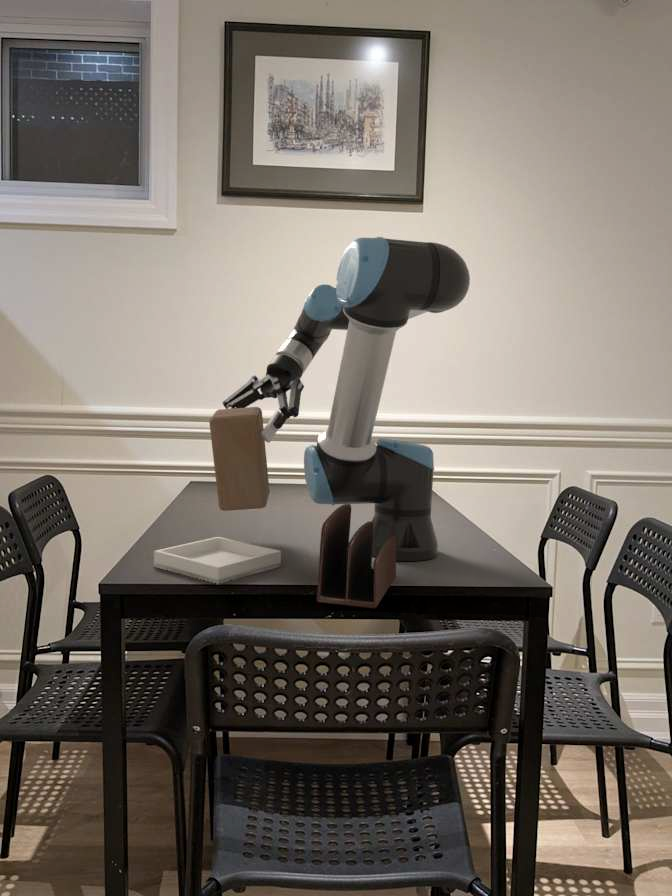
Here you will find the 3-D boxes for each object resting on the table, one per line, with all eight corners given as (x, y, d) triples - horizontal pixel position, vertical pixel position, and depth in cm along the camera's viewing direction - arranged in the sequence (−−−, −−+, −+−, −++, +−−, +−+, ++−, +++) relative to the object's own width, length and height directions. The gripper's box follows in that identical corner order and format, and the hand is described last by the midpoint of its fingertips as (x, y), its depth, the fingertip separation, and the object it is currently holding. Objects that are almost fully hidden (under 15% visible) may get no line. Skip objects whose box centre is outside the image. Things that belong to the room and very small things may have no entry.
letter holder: (316, 603, 130) (319, 518, 128) (343, 572, 149) (346, 498, 147) (376, 610, 127) (380, 523, 126) (396, 577, 146) (399, 502, 145)
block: (266, 509, 165) (257, 415, 160) (218, 512, 165) (208, 418, 160) (270, 494, 175) (261, 405, 170) (224, 498, 175) (215, 408, 170)
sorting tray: (280, 566, 151) (281, 550, 150) (217, 584, 137) (218, 567, 137) (218, 551, 160) (218, 536, 160) (153, 566, 147) (153, 550, 147)
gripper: (340, 379, 172) (294, 452, 162) (255, 375, 187) (207, 442, 177) (326, 353, 168) (278, 427, 157) (240, 351, 182) (190, 419, 172)
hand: (240, 435), depth 167 cm, fingers closed on block, 13 cm apart
